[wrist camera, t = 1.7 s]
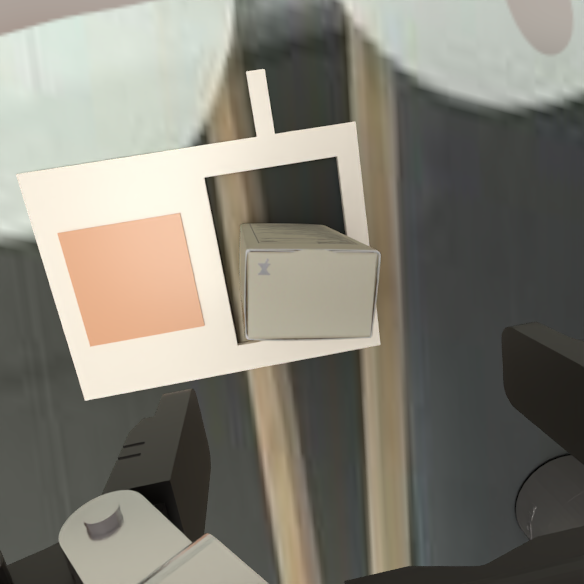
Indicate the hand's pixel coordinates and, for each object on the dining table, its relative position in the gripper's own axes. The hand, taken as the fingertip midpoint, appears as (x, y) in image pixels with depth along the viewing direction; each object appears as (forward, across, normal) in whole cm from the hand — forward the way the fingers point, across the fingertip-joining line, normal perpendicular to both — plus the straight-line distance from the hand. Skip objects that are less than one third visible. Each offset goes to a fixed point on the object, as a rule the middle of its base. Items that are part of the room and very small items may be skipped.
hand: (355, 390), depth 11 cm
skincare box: (+21, 0, 0) cm, 21 cm away
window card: (+21, +5, -2) cm, 22 cm away
